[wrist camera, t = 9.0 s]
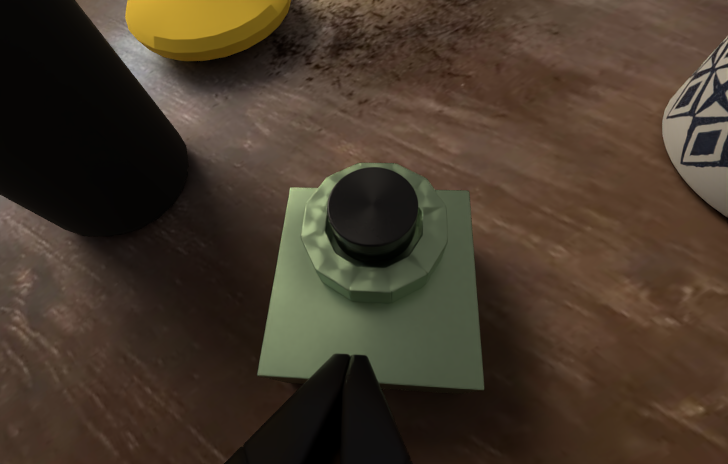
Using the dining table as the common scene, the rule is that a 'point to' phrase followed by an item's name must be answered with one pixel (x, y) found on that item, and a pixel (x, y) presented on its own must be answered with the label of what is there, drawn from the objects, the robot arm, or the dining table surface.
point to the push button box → (377, 296)
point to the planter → (702, 130)
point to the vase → (203, 25)
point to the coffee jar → (80, 125)
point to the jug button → (373, 214)
